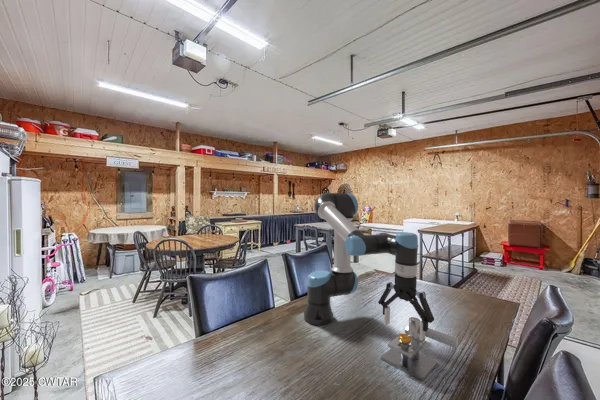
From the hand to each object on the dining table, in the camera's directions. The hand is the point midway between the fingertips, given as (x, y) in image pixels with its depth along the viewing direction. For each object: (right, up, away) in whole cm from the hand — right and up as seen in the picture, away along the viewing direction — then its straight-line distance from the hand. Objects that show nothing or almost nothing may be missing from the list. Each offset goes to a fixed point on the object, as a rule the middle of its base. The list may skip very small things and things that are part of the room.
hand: (403, 331), depth 96 cm
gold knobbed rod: (0, -12, 0) cm, 12 cm away
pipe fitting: (+11, -14, +19) cm, 26 cm away
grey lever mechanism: (+5, -13, 0) cm, 14 cm away
